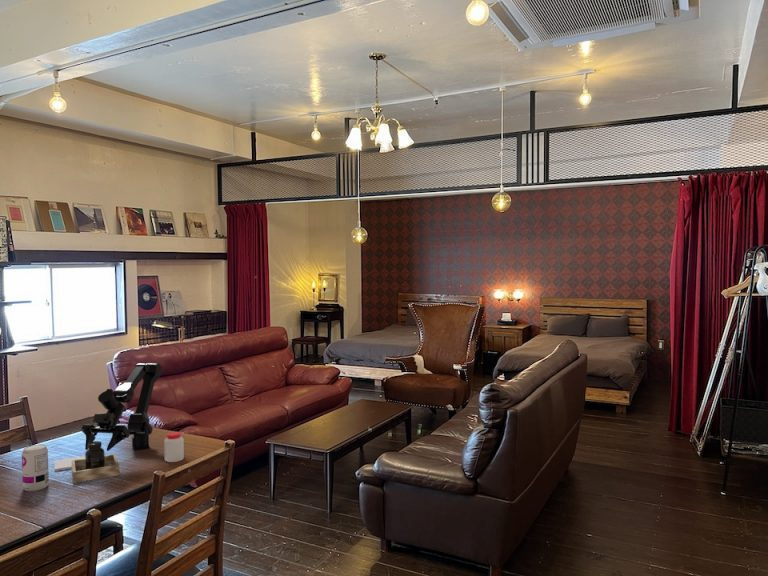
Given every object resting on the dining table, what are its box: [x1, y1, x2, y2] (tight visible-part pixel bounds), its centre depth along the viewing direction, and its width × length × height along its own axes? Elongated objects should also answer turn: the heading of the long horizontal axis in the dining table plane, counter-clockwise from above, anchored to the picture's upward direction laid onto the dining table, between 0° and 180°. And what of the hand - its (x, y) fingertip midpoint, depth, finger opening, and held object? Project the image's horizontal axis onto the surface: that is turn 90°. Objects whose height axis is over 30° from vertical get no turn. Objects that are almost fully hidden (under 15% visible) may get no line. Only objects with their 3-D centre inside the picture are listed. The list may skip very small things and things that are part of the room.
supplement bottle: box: [84, 440, 106, 470], centre depth 225 cm, size 7×7×12 cm
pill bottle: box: [163, 431, 185, 463], centre depth 241 cm, size 8×8×11 cm
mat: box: [54, 455, 85, 472], centre depth 235 cm, size 12×12×1 cm
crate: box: [71, 453, 121, 484], centre depth 225 cm, size 16×16×4 cm
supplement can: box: [21, 444, 50, 492], centre depth 210 cm, size 8×8×15 cm
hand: (96, 450), depth 226 cm, fingers open, 9 cm apart
